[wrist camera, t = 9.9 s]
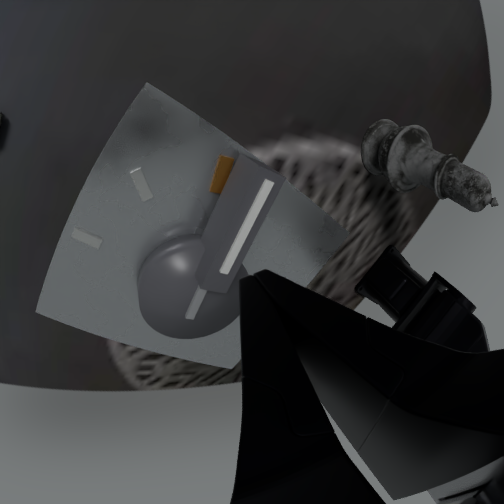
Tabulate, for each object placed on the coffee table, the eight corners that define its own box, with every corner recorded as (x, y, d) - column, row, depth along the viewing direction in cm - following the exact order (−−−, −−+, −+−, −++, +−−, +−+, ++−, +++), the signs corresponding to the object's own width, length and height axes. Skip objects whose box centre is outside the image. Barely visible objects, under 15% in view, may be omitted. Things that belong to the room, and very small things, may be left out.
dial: (217, 326, 25) (231, 359, 22) (126, 313, 21) (129, 350, 18) (296, 177, 20) (327, 197, 17) (192, 132, 16) (206, 144, 13)
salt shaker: (382, 188, 26) (483, 254, 16) (347, 157, 22) (469, 224, 13) (411, 140, 24) (517, 190, 15) (381, 102, 21) (508, 145, 11)
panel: (342, 227, 26) (351, 234, 25) (227, 360, 30) (232, 370, 29) (146, 82, 14) (146, 82, 13) (38, 302, 19) (35, 313, 17)
